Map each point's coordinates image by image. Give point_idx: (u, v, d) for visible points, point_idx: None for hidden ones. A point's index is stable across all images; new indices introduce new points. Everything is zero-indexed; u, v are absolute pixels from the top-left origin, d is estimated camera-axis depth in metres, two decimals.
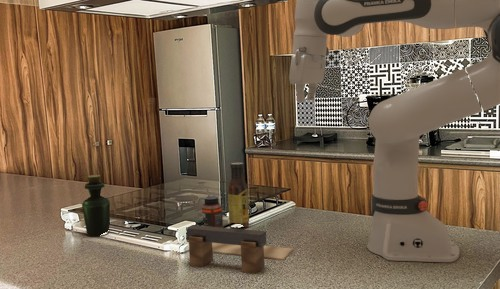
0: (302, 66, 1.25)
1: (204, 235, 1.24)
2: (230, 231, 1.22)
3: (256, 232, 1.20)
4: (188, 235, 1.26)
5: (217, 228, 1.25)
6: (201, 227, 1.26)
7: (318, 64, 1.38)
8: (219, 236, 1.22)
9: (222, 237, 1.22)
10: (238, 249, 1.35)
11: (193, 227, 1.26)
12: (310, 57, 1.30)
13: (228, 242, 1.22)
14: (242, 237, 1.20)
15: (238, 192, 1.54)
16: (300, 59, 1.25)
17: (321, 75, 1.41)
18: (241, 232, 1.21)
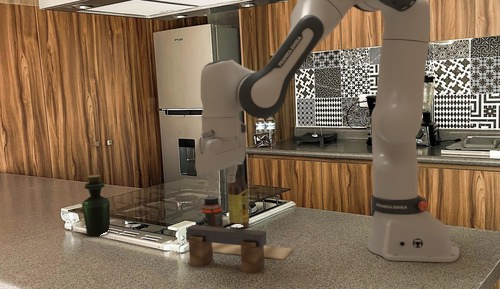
0: (207, 154, 1.11)
1: (204, 235, 1.24)
2: (230, 231, 1.22)
3: (256, 232, 1.20)
4: (188, 235, 1.26)
5: (217, 228, 1.25)
6: (201, 227, 1.26)
7: (235, 143, 1.24)
8: (219, 236, 1.22)
9: (222, 237, 1.22)
10: (238, 249, 1.35)
11: (193, 227, 1.26)
12: (219, 141, 1.16)
13: (228, 242, 1.22)
14: (242, 237, 1.20)
15: (238, 192, 1.54)
16: (205, 147, 1.12)
17: (241, 154, 1.27)
18: (241, 232, 1.21)
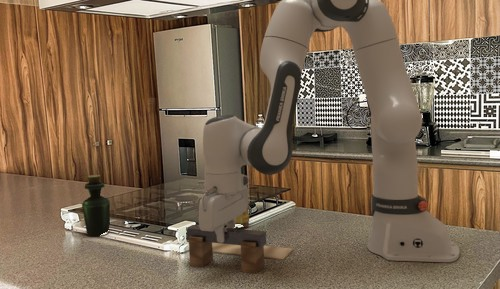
0: (210, 212, 1.13)
1: (204, 235, 1.24)
2: (230, 231, 1.22)
3: (256, 232, 1.20)
4: (188, 235, 1.26)
5: None
6: None
7: (237, 195, 1.26)
8: None
9: None
10: (238, 249, 1.35)
11: (193, 227, 1.26)
12: (222, 197, 1.18)
13: (228, 242, 1.22)
14: (242, 237, 1.20)
15: None
16: (208, 205, 1.13)
17: (243, 204, 1.29)
18: (241, 232, 1.21)
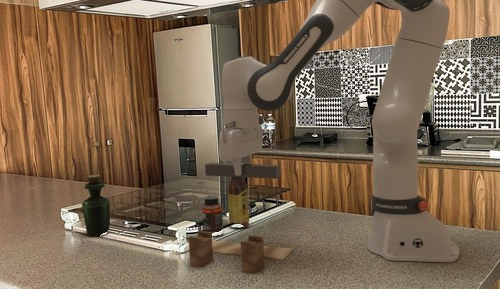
0: (230, 143, 1.22)
1: (222, 170, 1.33)
2: (246, 165, 1.31)
3: (271, 165, 1.29)
4: (207, 171, 1.35)
5: None
6: (219, 163, 1.35)
7: (253, 134, 1.35)
8: None
9: None
10: (238, 249, 1.35)
11: (211, 163, 1.35)
12: (240, 131, 1.26)
13: (245, 175, 1.30)
14: (258, 170, 1.29)
15: (238, 192, 1.54)
16: (228, 136, 1.22)
17: (258, 144, 1.38)
18: (257, 165, 1.29)
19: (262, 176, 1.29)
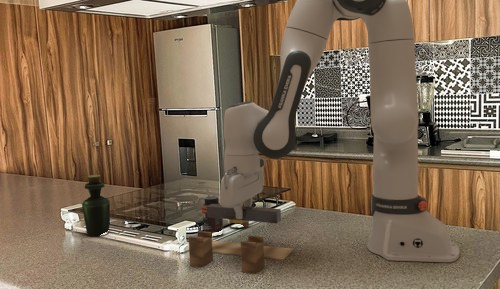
0: (231, 190, 1.23)
1: (223, 213, 1.34)
2: (247, 209, 1.32)
3: (272, 209, 1.30)
4: (208, 213, 1.36)
5: None
6: (220, 205, 1.36)
7: (254, 176, 1.36)
8: None
9: None
10: (238, 249, 1.35)
11: (213, 205, 1.36)
12: (241, 177, 1.28)
13: (245, 219, 1.32)
14: (259, 214, 1.30)
15: None
16: (229, 183, 1.24)
17: (259, 185, 1.39)
18: (258, 209, 1.31)
19: (263, 220, 1.30)
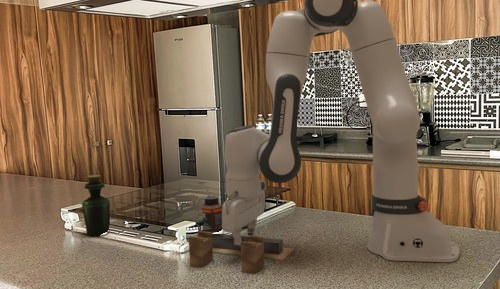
0: (233, 215, 1.24)
1: (225, 243, 1.35)
2: None
3: (274, 240, 1.31)
4: None
5: None
6: (222, 235, 1.37)
7: (255, 199, 1.37)
8: None
9: None
10: None
11: (215, 235, 1.37)
12: (243, 201, 1.28)
13: None
14: None
15: None
16: (231, 208, 1.24)
17: (261, 207, 1.40)
18: None
19: (265, 251, 1.31)
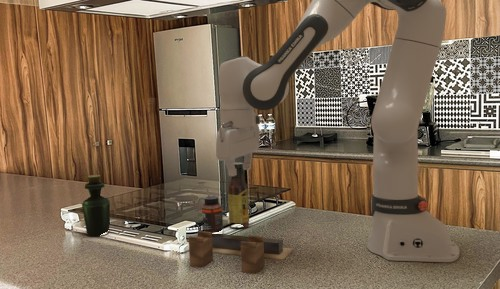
0: (227, 143, 1.23)
1: (225, 243, 1.35)
2: None
3: (274, 240, 1.31)
4: None
5: (237, 236, 1.36)
6: (222, 235, 1.37)
7: (250, 133, 1.36)
8: (239, 244, 1.34)
9: None
10: None
11: (215, 235, 1.37)
12: (237, 131, 1.28)
13: None
14: None
15: (238, 192, 1.54)
16: (225, 136, 1.23)
17: (255, 143, 1.39)
18: None
19: (265, 251, 1.31)
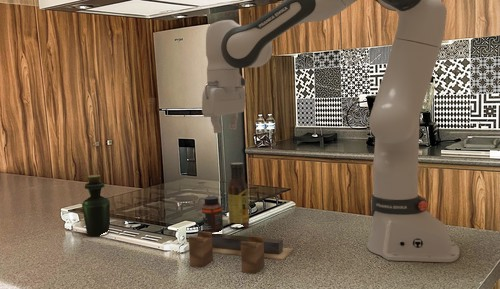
0: (212, 99, 1.31)
1: (225, 243, 1.35)
2: None
3: (274, 240, 1.31)
4: None
5: (237, 236, 1.36)
6: (222, 235, 1.37)
7: (235, 95, 1.43)
8: (239, 244, 1.34)
9: None
10: None
11: (215, 235, 1.37)
12: (222, 90, 1.35)
13: None
14: None
15: (238, 192, 1.54)
16: (210, 93, 1.31)
17: (241, 105, 1.46)
18: None
19: (265, 251, 1.31)
